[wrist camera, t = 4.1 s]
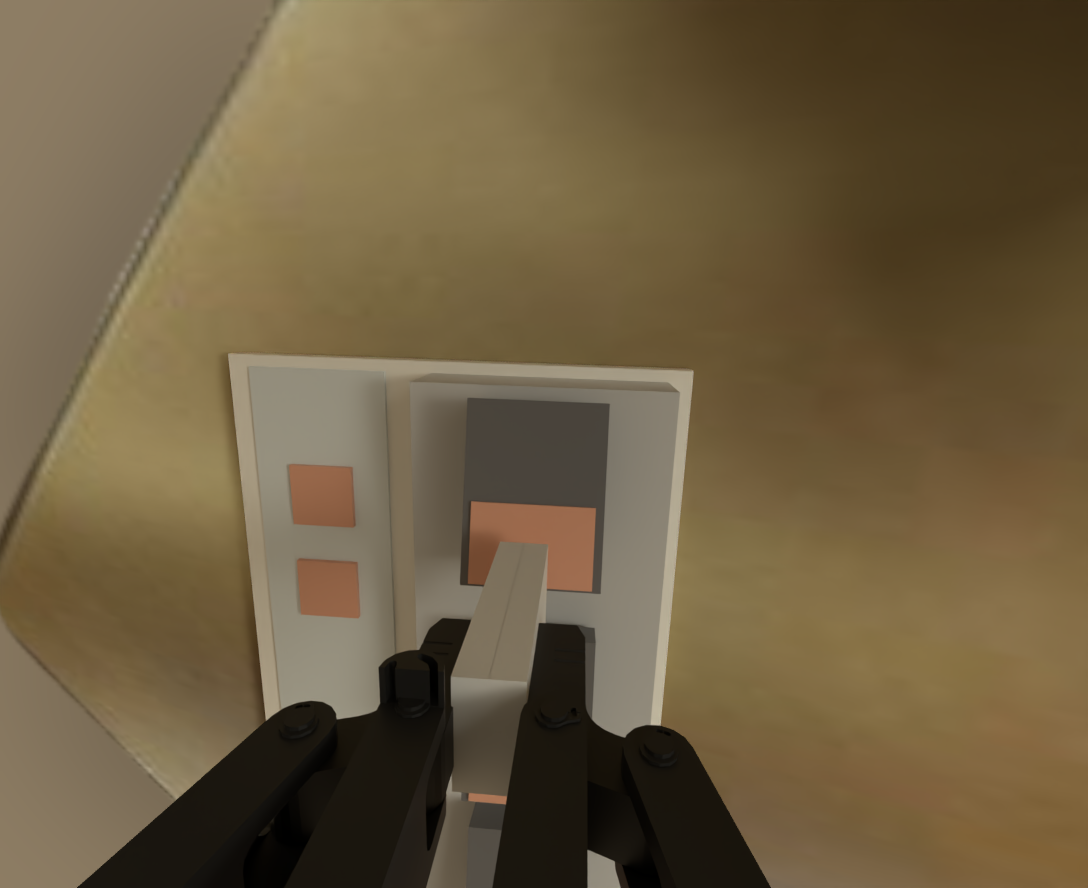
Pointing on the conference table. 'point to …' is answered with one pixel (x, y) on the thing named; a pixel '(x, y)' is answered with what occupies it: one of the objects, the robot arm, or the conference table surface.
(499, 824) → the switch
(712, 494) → the conference table surface
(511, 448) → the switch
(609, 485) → the switch panel
